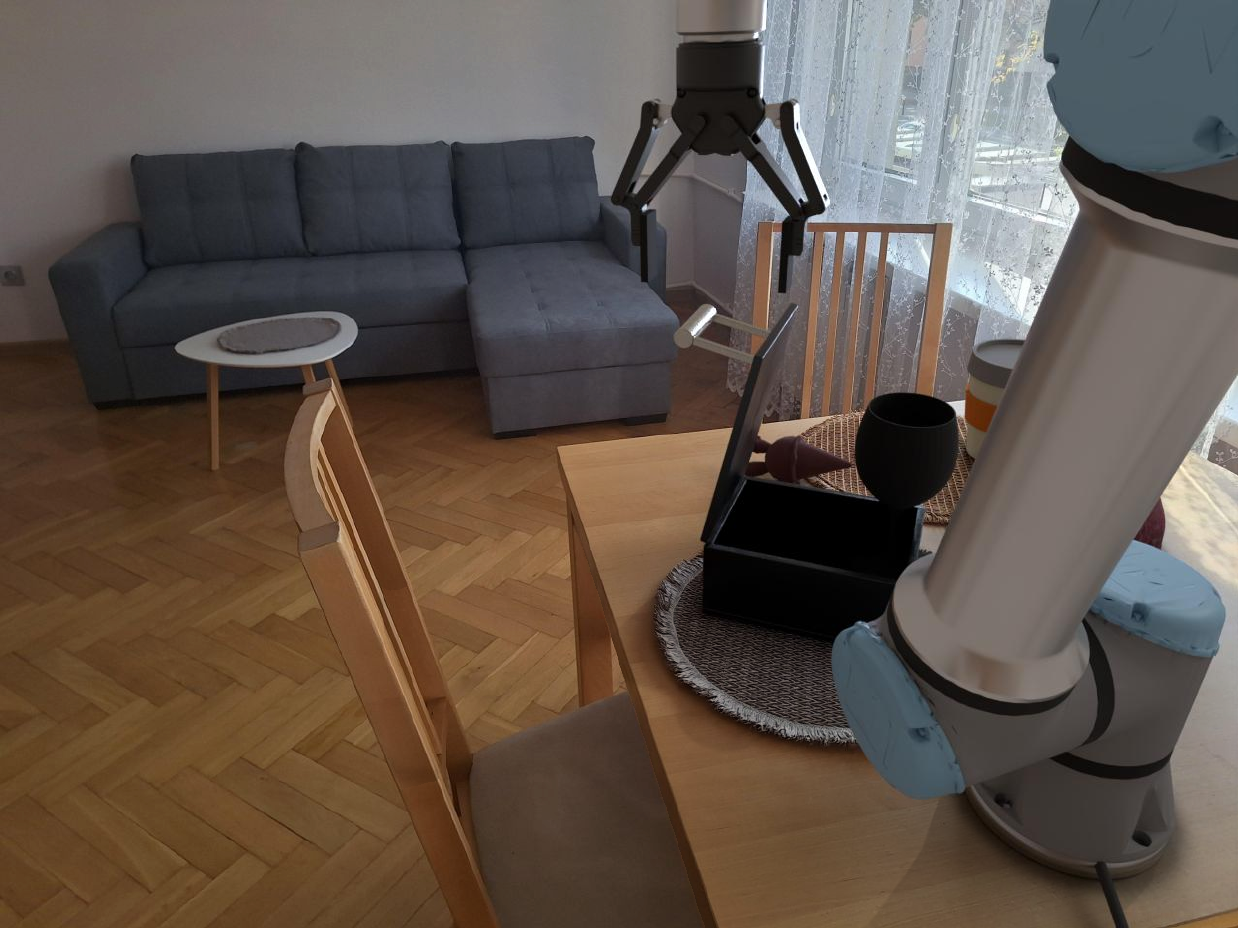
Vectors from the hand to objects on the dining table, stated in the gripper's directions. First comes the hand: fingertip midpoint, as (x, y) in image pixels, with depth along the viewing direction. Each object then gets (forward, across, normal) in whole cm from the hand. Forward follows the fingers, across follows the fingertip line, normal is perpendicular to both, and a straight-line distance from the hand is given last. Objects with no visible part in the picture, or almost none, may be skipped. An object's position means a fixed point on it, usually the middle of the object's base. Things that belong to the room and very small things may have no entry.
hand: (715, 284), depth 81 cm
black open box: (+34, -12, +1) cm, 36 cm away
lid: (+14, -5, +1) cm, 15 cm away
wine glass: (+24, -19, -7) cm, 31 cm away
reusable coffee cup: (+34, -32, -40) cm, 61 cm away
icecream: (+34, -5, -23) cm, 41 cm away
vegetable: (+34, -43, -19) cm, 58 cm away
